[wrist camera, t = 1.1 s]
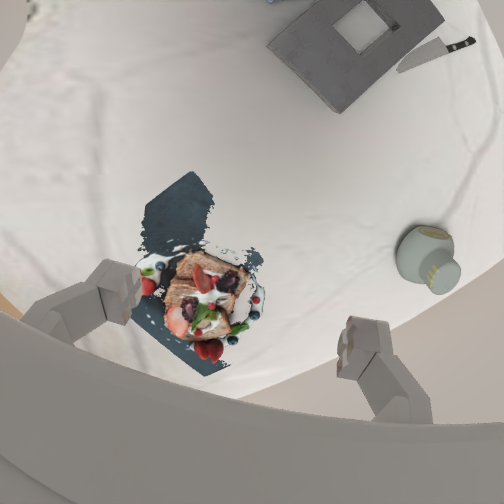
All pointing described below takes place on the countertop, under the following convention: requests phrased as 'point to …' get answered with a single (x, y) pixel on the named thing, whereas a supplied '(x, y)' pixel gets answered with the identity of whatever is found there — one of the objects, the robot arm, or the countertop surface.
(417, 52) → the chef's knife
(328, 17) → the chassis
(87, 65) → the countertop surface
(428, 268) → the air freshener
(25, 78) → the countertop surface
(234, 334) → the platter
